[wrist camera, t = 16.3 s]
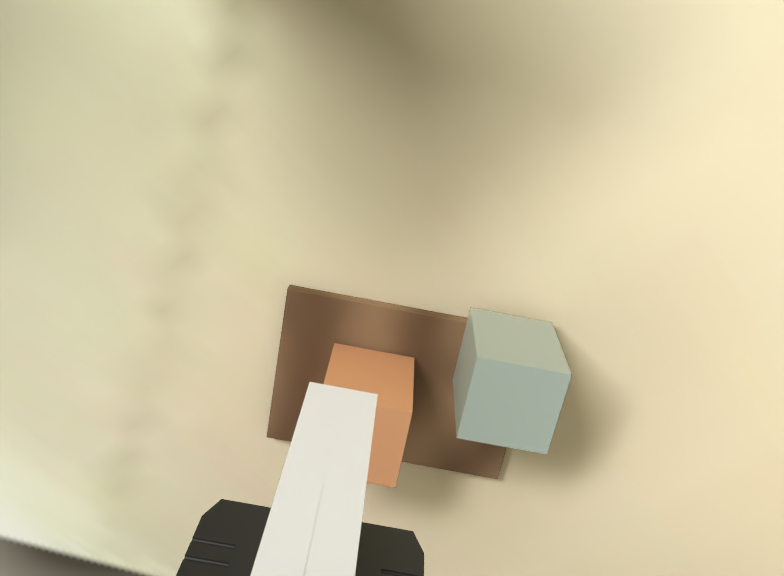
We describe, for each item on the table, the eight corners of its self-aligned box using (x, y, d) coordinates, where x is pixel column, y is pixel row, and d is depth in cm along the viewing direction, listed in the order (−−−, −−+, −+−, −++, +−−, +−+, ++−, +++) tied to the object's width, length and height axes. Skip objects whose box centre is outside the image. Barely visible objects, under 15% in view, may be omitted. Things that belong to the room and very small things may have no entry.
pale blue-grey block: (452, 379, 48) (456, 437, 42) (470, 307, 46) (477, 357, 40) (531, 394, 48) (546, 454, 42) (552, 322, 46) (571, 374, 40)
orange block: (322, 412, 49) (307, 471, 43) (334, 342, 47) (320, 394, 41) (399, 426, 49) (395, 487, 43) (414, 357, 47) (412, 412, 41)
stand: (269, 430, 51) (266, 437, 50) (289, 285, 47) (287, 289, 46) (496, 471, 51) (497, 478, 51) (536, 331, 47) (538, 336, 46)
